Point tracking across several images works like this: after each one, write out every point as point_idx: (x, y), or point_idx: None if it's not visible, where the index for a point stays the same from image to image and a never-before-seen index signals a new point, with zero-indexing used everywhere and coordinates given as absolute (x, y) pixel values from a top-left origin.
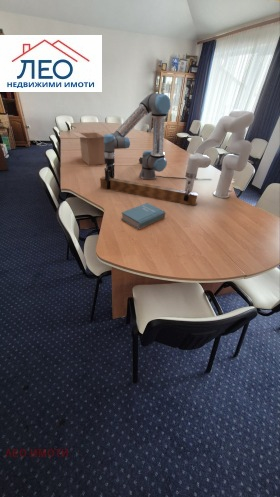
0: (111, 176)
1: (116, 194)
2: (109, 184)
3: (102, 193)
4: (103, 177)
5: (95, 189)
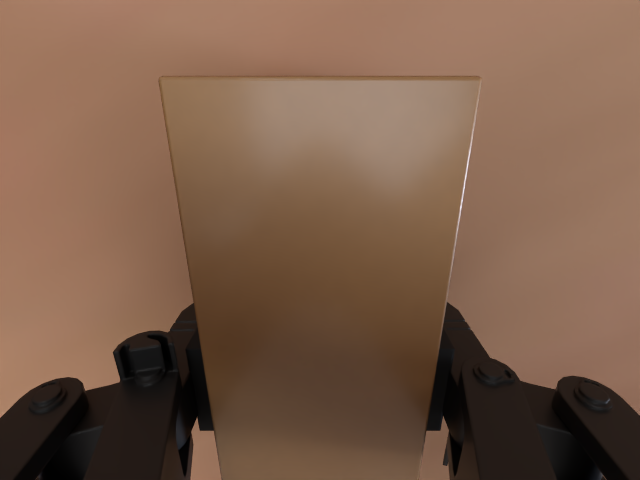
0: (459, 464)
1: None
2: None
3: (45, 247)
4: (329, 177)
5: (109, 23)
